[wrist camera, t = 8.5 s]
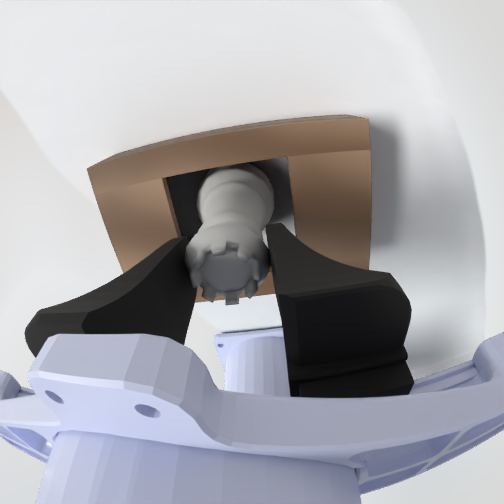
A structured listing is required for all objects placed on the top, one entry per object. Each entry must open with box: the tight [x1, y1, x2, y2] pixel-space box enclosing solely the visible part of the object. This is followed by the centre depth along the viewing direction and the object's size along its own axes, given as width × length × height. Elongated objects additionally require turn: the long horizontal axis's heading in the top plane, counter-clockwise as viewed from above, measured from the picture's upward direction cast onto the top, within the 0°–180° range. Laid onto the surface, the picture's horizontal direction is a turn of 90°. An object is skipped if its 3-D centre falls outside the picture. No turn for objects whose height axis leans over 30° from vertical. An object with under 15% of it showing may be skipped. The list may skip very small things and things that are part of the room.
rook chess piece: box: [184, 163, 275, 305], centre depth 13 cm, size 4×4×8 cm
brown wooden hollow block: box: [87, 115, 372, 302], centre depth 16 cm, size 9×14×4 cm, turn 99°
